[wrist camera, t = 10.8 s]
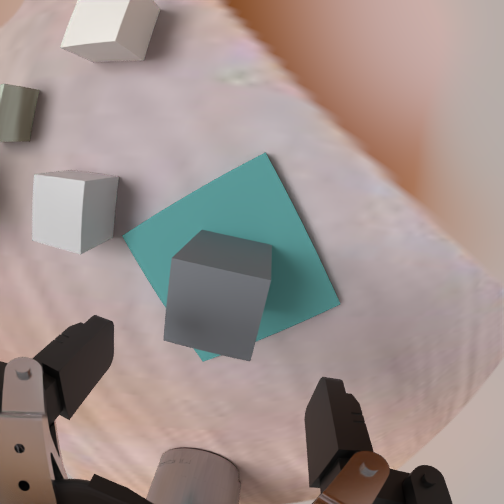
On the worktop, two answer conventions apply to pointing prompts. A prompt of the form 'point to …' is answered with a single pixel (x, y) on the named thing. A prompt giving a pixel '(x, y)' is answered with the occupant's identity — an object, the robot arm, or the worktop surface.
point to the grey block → (73, 209)
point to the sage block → (16, 112)
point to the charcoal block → (218, 294)
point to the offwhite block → (111, 29)
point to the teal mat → (247, 227)
